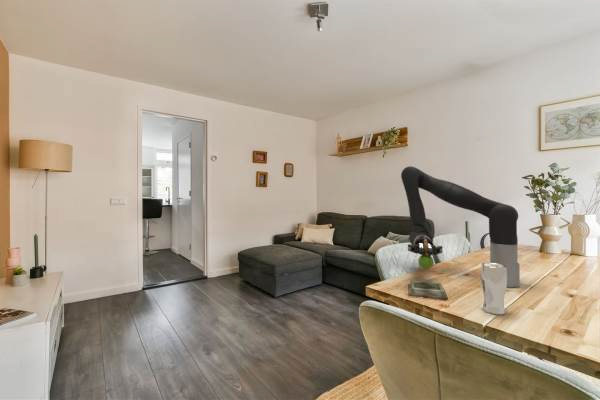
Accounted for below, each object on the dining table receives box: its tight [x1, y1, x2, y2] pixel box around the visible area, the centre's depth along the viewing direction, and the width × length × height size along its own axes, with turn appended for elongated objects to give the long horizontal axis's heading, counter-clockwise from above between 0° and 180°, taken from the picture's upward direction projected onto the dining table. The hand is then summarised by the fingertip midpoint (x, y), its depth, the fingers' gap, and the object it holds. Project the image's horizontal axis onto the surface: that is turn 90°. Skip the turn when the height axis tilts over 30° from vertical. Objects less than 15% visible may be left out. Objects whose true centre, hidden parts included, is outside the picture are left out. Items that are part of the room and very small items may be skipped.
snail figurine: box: [417, 236, 435, 270], centre depth 106 cm, size 5×6×12 cm
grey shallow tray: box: [407, 280, 449, 301], centre depth 106 cm, size 13×12×3 cm
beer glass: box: [480, 262, 508, 316], centre depth 89 cm, size 7×7×15 cm
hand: (426, 253), depth 103 cm, fingers closed on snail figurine
